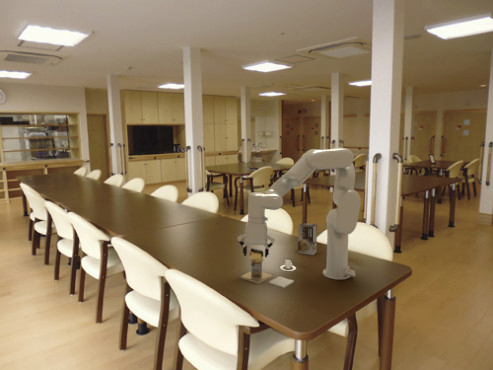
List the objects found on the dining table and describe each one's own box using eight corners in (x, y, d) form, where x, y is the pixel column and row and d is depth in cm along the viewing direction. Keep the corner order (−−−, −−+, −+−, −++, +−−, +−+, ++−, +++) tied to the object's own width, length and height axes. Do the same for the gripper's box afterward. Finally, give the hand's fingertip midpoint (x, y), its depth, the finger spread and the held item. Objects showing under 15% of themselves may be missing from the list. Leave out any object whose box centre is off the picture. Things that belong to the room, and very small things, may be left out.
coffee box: (316, 252, 199) (317, 224, 196) (312, 255, 193) (313, 227, 191) (301, 249, 203) (302, 222, 201) (297, 252, 198) (297, 225, 196)
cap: (266, 259, 163) (266, 249, 162) (257, 263, 158) (257, 253, 157) (255, 256, 167) (255, 246, 166) (246, 260, 162) (246, 250, 161)
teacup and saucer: (286, 264, 182) (286, 256, 181) (299, 267, 177) (299, 260, 176) (276, 269, 175) (276, 261, 174) (290, 273, 170) (290, 265, 169)
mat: (293, 282, 159) (293, 280, 158) (283, 287, 152) (283, 286, 152) (279, 277, 164) (279, 276, 164) (269, 283, 158) (269, 281, 158)
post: (271, 277, 164) (271, 259, 163) (258, 284, 156) (258, 265, 155) (254, 271, 170) (254, 255, 169) (241, 278, 163) (241, 260, 162)
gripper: (276, 218, 162) (275, 254, 164) (239, 216, 165) (238, 251, 167) (274, 222, 154) (273, 260, 157) (235, 220, 157) (235, 257, 160)
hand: (255, 255), depth 162 cm, fingers open, 9 cm apart
